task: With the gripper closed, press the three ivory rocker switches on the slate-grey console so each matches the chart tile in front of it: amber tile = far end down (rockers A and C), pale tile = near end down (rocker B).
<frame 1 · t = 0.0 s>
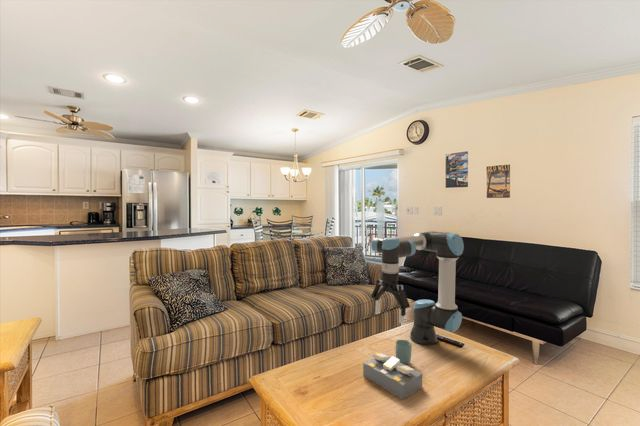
hand: (389, 317, 140), 28 cm above the table, fingers open, 13 cm apart
rocker a: (380, 356, 144), point 8 cm above the table, hinge at -15.0°
rocker c: (405, 369, 133), point 8 cm above the table, hinge at -15.0°
console: (391, 381, 138), on the table
cup: (403, 362, 155), on the table
rocker b: (391, 363, 138), point 8 cm above the table, hinge at 15.0°
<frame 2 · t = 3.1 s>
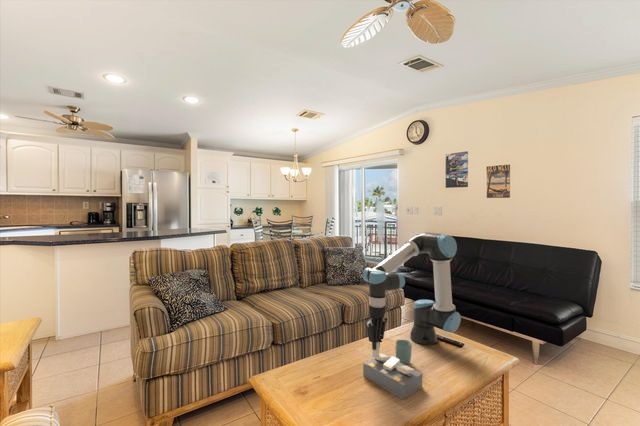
hand: (375, 355, 142), 10 cm above the table, fingers closed
rocker a: (380, 356, 144), point 8 cm above the table, hinge at -14.8°, touching gripper
everything else where it was.
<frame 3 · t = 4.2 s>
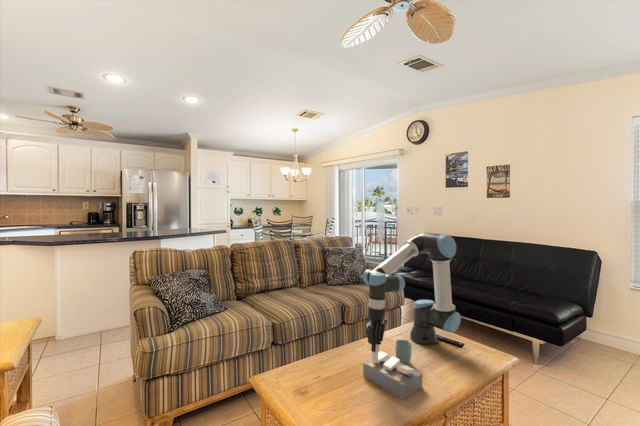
hand: (374, 357, 141), 9 cm above the table, fingers closed
rocker a: (379, 357, 144), point 8 cm above the table, hinge at 7.0°, touching gripper
everything else where it was.
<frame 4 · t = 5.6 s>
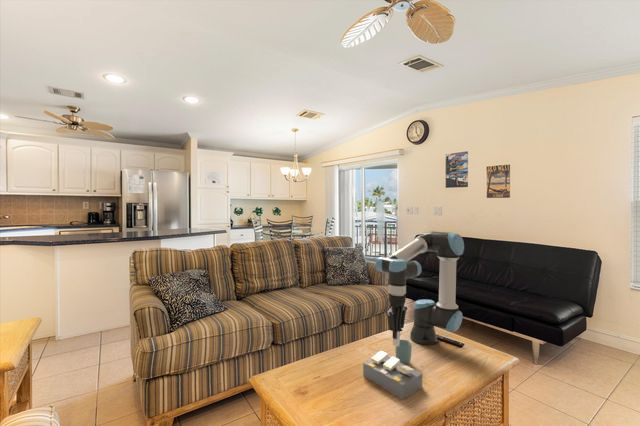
hand: (396, 344, 140), 16 cm above the table, fingers closed
rocker a: (379, 357, 143), point 8 cm above the table, hinge at 13.7°
everything else where it was.
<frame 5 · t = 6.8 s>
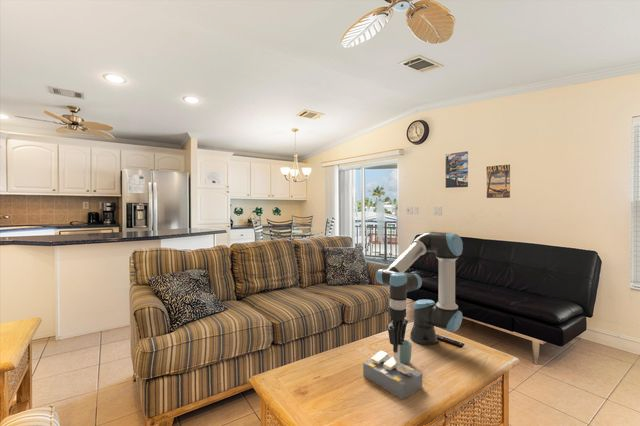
hand: (396, 358, 140), 9 cm above the table, fingers closed
rocker a: (379, 357, 143), point 8 cm above the table, hinge at 14.4°
rocker b: (391, 363, 138), point 8 cm above the table, hinge at 9.8°, touching gripper
everything else where it was.
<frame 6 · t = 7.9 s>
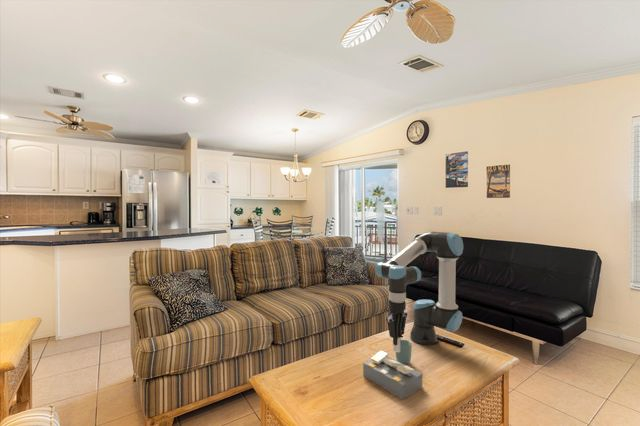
hand: (396, 351, 140), 13 cm above the table, fingers closed
rocker b: (392, 362, 138), point 8 cm above the table, hinge at -21.0°
everything else where it was.
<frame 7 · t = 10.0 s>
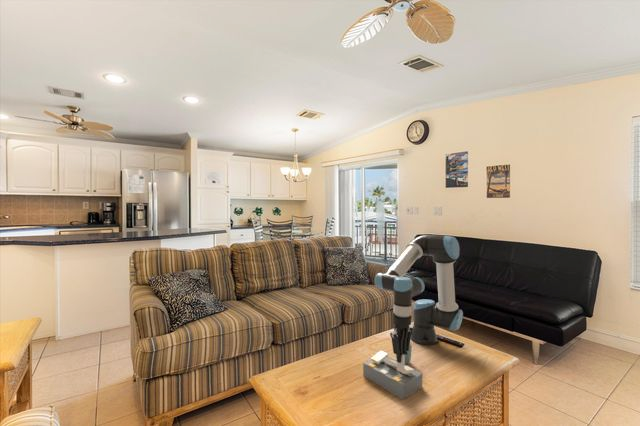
hand: (400, 368, 131), 10 cm above the table, fingers closed
rocker c: (405, 369, 133), point 8 cm above the table, hinge at -14.5°, touching gripper
rocker b: (392, 362, 139), point 8 cm above the table, hinge at -26.4°, touching console
everything else where it was.
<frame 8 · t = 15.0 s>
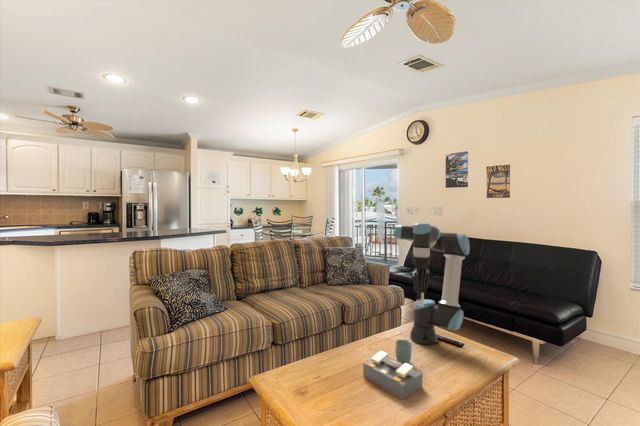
hand: (420, 306, 144), 32 cm above the table, fingers closed
rocker c: (404, 369, 133), point 8 cm above the table, hinge at 12.4°
everything else where it was.
at the end: rocker a at +14° (first picture: -15°); rocker b at -27° (first picture: +15°); rocker c at +12° (first picture: -15°) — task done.
